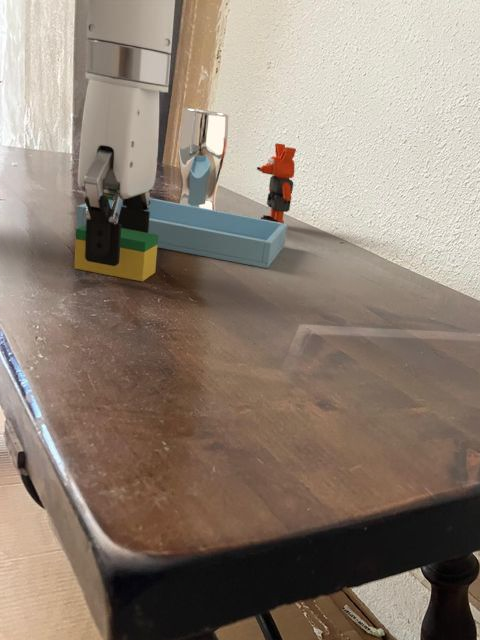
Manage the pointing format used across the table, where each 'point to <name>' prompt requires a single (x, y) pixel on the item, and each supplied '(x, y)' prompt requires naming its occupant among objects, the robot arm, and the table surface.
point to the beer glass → (202, 156)
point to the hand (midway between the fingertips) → (117, 254)
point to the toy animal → (279, 182)
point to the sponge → (123, 255)
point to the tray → (211, 233)
